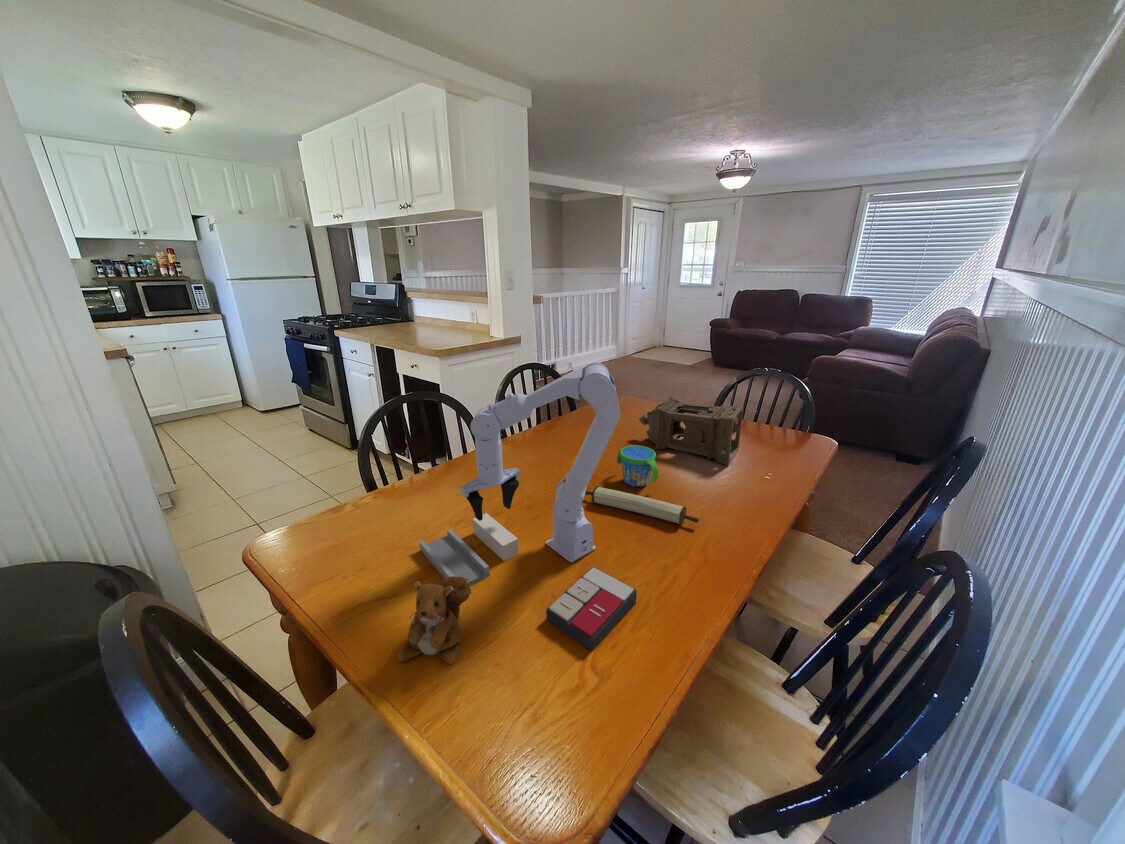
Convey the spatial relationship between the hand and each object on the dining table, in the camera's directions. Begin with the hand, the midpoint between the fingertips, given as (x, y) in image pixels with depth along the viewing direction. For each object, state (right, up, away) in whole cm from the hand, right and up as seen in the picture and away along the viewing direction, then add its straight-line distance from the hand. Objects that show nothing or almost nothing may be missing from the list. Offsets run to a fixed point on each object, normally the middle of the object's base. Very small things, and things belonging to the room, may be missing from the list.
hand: (493, 512), depth 101 cm
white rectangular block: (0, -8, +3) cm, 9 cm away
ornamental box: (+60, +12, +55) cm, 83 cm away
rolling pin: (+36, -4, +15) cm, 40 cm away
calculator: (+22, -16, -17) cm, 32 cm away
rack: (-8, -11, -4) cm, 14 cm away
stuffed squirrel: (-6, -18, -23) cm, 30 cm away
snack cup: (+39, +3, +31) cm, 50 cm away
